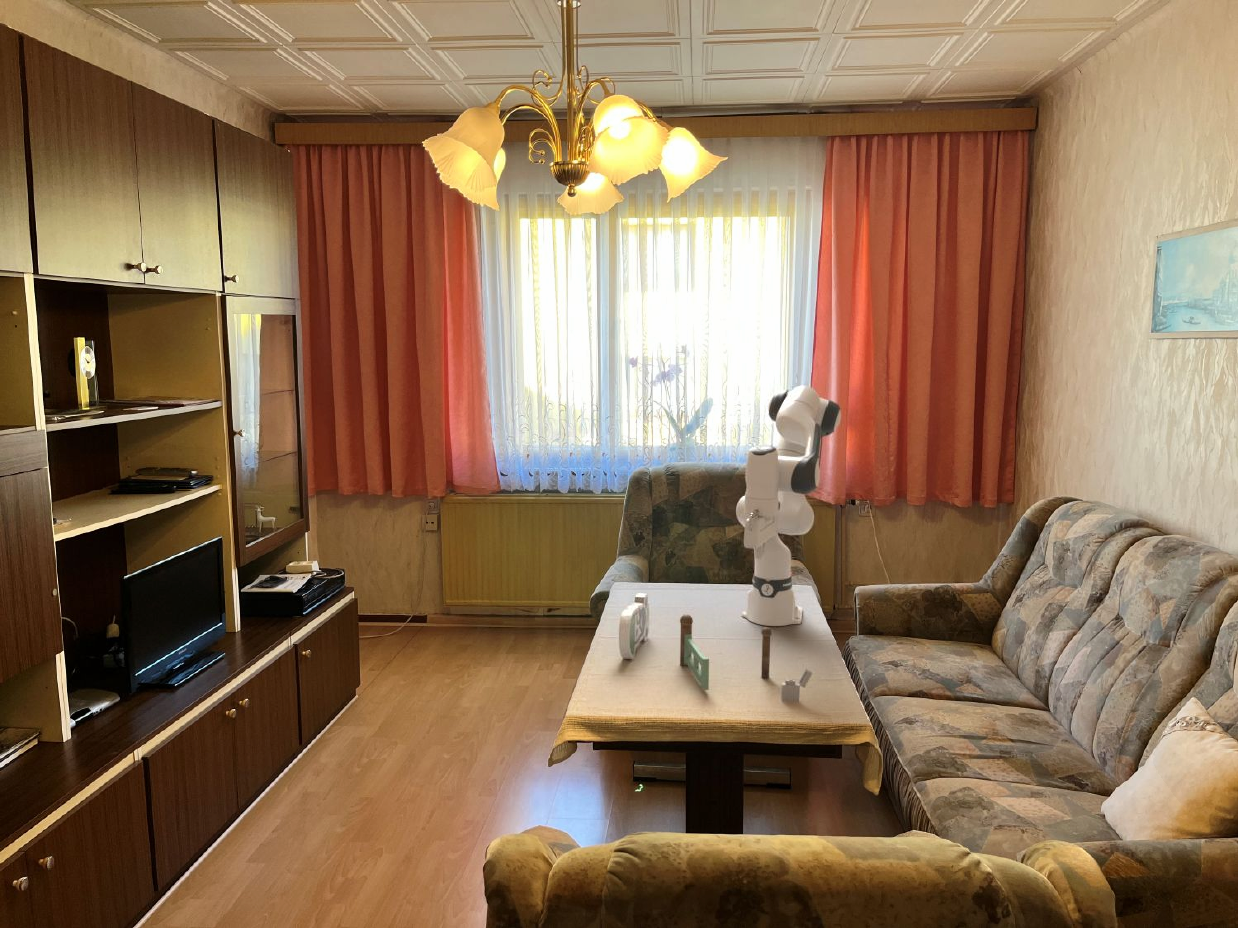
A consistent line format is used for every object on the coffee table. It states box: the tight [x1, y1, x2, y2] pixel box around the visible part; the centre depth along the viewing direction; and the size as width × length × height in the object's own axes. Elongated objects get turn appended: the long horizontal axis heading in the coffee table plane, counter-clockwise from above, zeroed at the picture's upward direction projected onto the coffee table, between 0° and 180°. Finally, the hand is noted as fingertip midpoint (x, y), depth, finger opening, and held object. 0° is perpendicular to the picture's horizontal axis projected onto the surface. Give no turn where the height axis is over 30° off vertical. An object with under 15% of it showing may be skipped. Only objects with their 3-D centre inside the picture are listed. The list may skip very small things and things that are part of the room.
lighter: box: [780, 668, 813, 703], centre depth 227 cm, size 7×2×8 cm, turn 87°
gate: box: [684, 634, 710, 691], centre depth 240 cm, size 2×19×8 cm, turn 10°
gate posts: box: [679, 614, 773, 679], centre depth 246 cm, size 3×25×14 cm, turn 66°
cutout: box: [618, 592, 650, 660], centre depth 262 cm, size 15×3×25 cm
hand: (759, 557), depth 249 cm, fingers closed
